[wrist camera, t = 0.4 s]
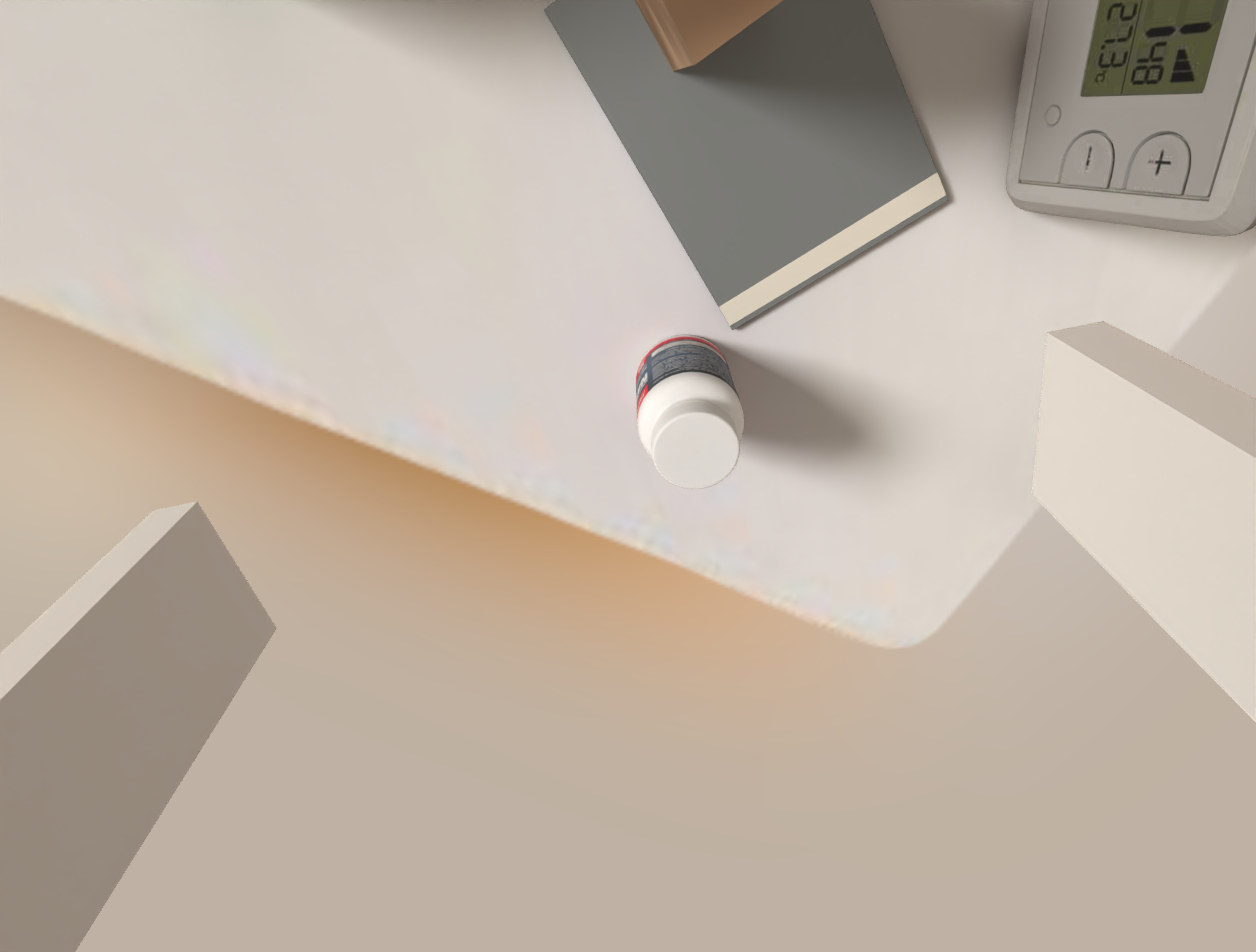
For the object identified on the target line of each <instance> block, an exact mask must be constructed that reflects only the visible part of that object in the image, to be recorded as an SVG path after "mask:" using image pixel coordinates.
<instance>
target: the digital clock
mask: <svg viewBox="0 0 1256 952" xmlns="http://www.w3.org/2000/svg"><path fill="white" fill-rule="evenodd" d="M1006 189H1007V192H1008V195H1009V197H1010V198H1011V200H1012V202H1013V203H1014V204H1015V206H1017V207H1018V208H1020V209H1023V210H1026V211H1031V212H1037V213H1044V214H1052V215H1059V216H1067V217H1074V218H1081V219H1089V220H1096V221H1103V222H1111V223H1118V224H1126V225H1133V226H1140V227H1148V228H1155V229H1162V230H1170V231H1177V232H1185V233H1192V234H1202V235H1212V236H1231V235H1237V234H1240V233H1242V232H1245V231H1247V230H1249V229H1252V228H1253V227H1254V226H1255V225H1256V0H1034V2H1033V8H1032V14H1031V21H1030V27H1029V33H1028V40H1027V46H1026V52H1025V58H1024V65H1023V71H1022V77H1021V83H1020V90H1019V96H1018V102H1017V109H1016V115H1015V121H1014V128H1013V134H1012V141H1011V147H1010V154H1009V161H1008V169H1007V178H1006Z"/></svg>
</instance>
